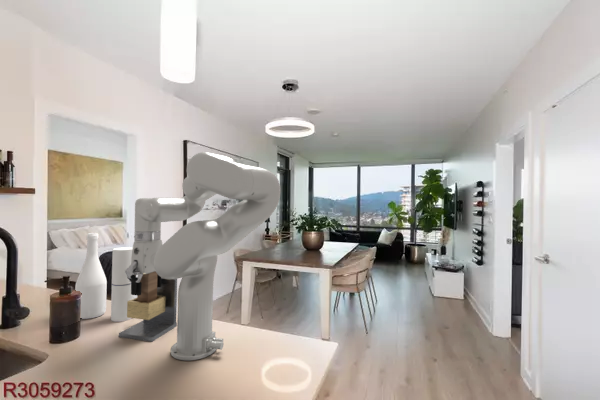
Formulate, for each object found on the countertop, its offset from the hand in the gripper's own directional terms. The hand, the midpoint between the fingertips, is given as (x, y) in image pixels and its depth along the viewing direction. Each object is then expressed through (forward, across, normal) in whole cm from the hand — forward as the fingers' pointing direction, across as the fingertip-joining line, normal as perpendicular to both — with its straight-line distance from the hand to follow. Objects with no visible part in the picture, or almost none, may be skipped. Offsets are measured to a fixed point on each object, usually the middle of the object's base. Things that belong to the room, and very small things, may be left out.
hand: (146, 290), depth 97 cm
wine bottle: (+14, +8, +30) cm, 34 cm away
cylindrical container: (+14, +9, +17) cm, 24 cm away
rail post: (+7, 0, 0) cm, 7 cm away
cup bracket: (+14, +2, 0) cm, 14 cm away
